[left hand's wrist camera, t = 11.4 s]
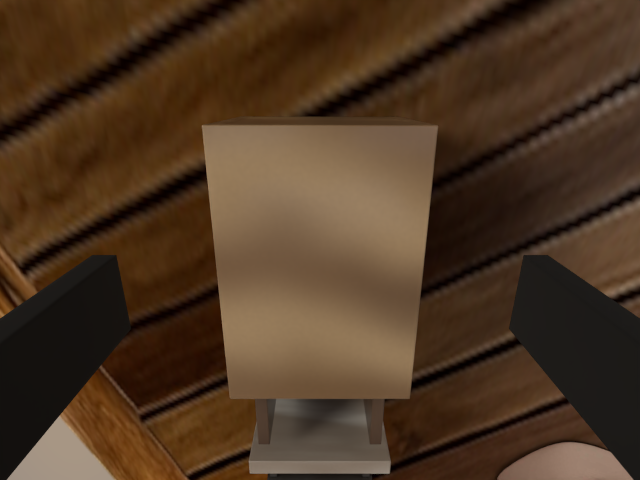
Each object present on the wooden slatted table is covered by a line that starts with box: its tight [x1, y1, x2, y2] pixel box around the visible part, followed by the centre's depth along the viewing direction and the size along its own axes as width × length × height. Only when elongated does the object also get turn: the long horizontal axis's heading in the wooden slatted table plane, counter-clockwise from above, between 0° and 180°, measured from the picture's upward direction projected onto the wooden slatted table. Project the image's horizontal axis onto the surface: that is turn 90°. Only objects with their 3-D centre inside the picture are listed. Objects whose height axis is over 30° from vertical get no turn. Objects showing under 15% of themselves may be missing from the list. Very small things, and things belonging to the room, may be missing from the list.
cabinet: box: [202, 117, 438, 399], centre depth 25 cm, size 16×11×9 cm
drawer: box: [249, 399, 391, 480], centre depth 29 cm, size 21×10×7 cm, turn 0°
